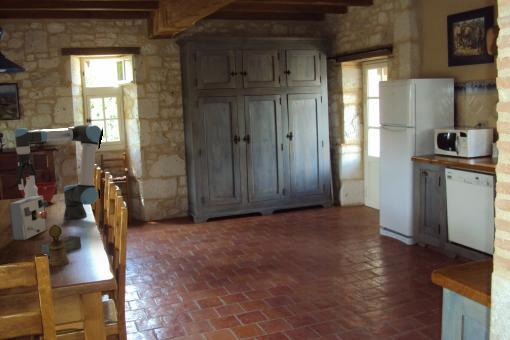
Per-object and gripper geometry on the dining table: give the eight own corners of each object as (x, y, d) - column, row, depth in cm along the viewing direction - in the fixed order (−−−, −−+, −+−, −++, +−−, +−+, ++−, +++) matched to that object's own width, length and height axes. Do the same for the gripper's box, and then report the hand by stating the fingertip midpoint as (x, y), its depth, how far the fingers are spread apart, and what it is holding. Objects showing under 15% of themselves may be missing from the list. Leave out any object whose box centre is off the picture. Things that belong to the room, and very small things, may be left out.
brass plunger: (30, 219, 323) (29, 212, 322) (34, 218, 328) (33, 210, 327) (43, 219, 322) (42, 212, 321) (47, 217, 326) (46, 210, 326)
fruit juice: (38, 216, 382) (34, 177, 378) (25, 217, 380) (20, 178, 377) (41, 213, 391) (37, 176, 387) (28, 214, 390) (24, 177, 386)
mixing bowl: (27, 201, 446) (25, 183, 444) (62, 199, 449) (60, 181, 447) (16, 208, 418) (13, 189, 416) (53, 205, 421) (51, 186, 419)
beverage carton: (42, 254, 281) (40, 242, 280) (74, 246, 295) (73, 234, 294) (50, 257, 276) (48, 244, 275) (82, 247, 290) (81, 236, 289)
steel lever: (27, 229, 317) (28, 226, 316) (29, 228, 319) (29, 225, 318) (38, 233, 316) (39, 230, 316) (40, 232, 318) (40, 229, 318)
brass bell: (67, 257, 273) (63, 223, 270) (69, 264, 260) (65, 228, 258) (48, 260, 269) (45, 225, 267) (50, 267, 257) (46, 231, 254)
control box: (13, 239, 316) (8, 203, 313) (35, 229, 339) (31, 195, 336) (28, 239, 314) (24, 203, 311) (49, 229, 338) (45, 195, 335)
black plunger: (37, 207, 331) (36, 201, 330) (40, 206, 334) (39, 200, 334) (45, 207, 330) (44, 201, 329) (48, 205, 333) (47, 200, 333)
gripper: (28, 151, 336) (31, 184, 339) (6, 155, 312) (10, 191, 315) (39, 151, 336) (43, 184, 338) (18, 155, 311) (22, 191, 314)
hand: (27, 187), depth 326 cm, fingers open, 13 cm apart
